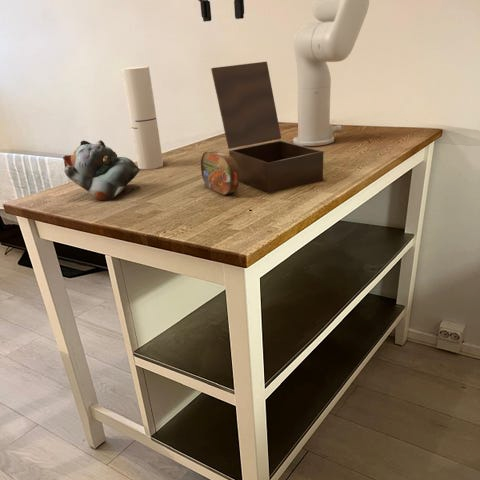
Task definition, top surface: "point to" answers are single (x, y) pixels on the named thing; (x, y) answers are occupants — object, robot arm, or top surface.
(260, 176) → the chest
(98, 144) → the lucky cat figurine
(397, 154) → the top surface
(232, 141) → the lid
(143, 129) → the cylindrical container
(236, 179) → the tin
